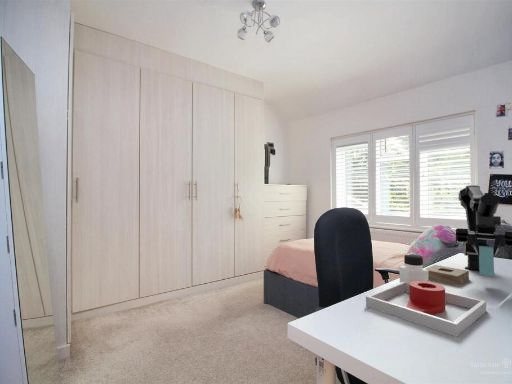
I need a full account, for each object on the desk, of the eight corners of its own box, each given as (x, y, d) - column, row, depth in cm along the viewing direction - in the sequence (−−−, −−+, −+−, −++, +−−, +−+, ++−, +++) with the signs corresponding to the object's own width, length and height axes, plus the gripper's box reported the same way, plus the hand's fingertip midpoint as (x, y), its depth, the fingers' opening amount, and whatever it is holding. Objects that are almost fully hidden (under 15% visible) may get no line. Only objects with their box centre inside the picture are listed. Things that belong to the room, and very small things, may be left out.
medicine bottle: (429, 290, 102) (428, 257, 102) (408, 290, 102) (408, 256, 102) (418, 284, 109) (417, 252, 109) (399, 284, 110) (399, 252, 110)
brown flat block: (435, 274, 123) (435, 264, 123) (468, 280, 113) (468, 270, 113) (423, 279, 115) (423, 269, 115) (458, 287, 106) (457, 276, 106)
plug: (479, 272, 108) (478, 246, 109) (493, 273, 106) (492, 246, 106) (480, 274, 105) (479, 247, 105) (494, 276, 103) (493, 248, 103)
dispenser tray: (403, 289, 103) (403, 281, 103) (486, 311, 84) (486, 301, 84) (365, 306, 88) (365, 296, 88) (456, 336, 69) (456, 324, 69)
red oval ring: (416, 299, 94) (415, 279, 94) (449, 307, 87) (449, 285, 87) (392, 314, 82) (392, 291, 82) (429, 326, 75) (429, 300, 75)
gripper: (455, 207, 115) (454, 239, 106) (518, 209, 103) (523, 244, 94) (456, 225, 121) (455, 256, 112) (516, 228, 109) (520, 263, 101)
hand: (486, 255), depth 105 cm, fingers closed on plug, 4 cm apart
